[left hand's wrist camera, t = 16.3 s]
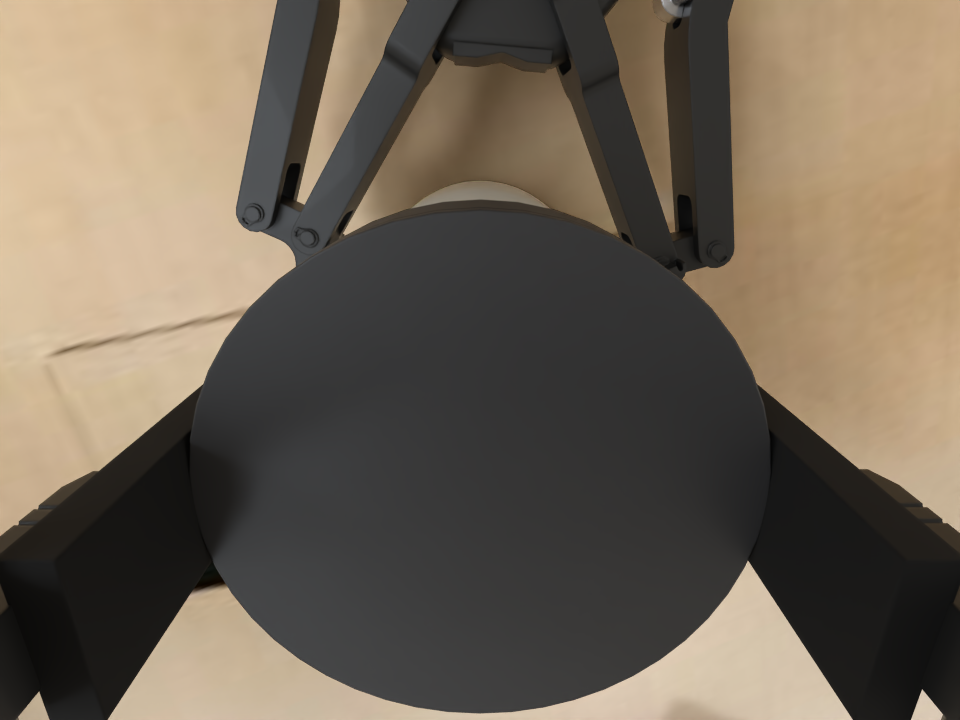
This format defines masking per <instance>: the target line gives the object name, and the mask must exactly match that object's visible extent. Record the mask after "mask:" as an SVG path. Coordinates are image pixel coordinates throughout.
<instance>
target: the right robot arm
mask: <svg viewBox="0 0 960 720" xmlns="http://www.w3.org/2000/svg"><path fill="white" fill-rule="evenodd" d="M406 1H407V5H406V7H405V9H404V11H403V12H402V14H401V16H400V18H399V20H398V22H397V24H396V26H395V28H394V30H393V31H392V33H391V35H390V37H389V39H388V41H387V44H386V47H385V51H384V55H383V58H382V60H381V62H380V64H379V66H378V68H377V70H376V71H375V73H374V75H373V77H372V79H371V81H370V83H369V85H368V87H367V88H366V90H365V92H364V94H363V96H362V98H361V100H360V102H359V104H358V105H357V107H356V109H355V111H354V113H353V115H352V117H351V119H350V120H349V122H348V124H347V126H346V128H345V130H344V132H343V134H342V136H341V137H340V139H339V141H338V143H337V145H336V147H335V149H334V151H333V153H332V154H331V156H330V158H329V160H328V162H327V164H326V166H325V168H324V170H323V171H322V173H321V175H320V177H319V179H318V181H317V183H316V185H315V187H314V188H313V190H312V192H311V194H310V196H309V198H308V200H307V202H306V204H305V205H304V204H301V203H299V202H297V197H298V193H299V189H300V184H301V180H302V176H303V171H304V167H305V163H306V159H307V154H308V150H309V146H310V141H311V137H312V133H313V129H314V124H315V120H316V116H317V111H318V107H319V103H320V99H321V94H322V90H323V86H324V82H325V77H326V73H327V69H328V64H329V60H330V56H331V52H332V47H333V43H334V39H335V34H336V30H337V24H338V18H339V8H340V0H277V5H276V10H275V15H274V20H273V25H272V30H271V35H270V40H269V45H268V50H267V55H266V60H265V65H264V70H263V75H262V80H261V85H260V90H259V95H258V101H257V106H256V111H255V116H254V121H253V126H252V131H251V136H250V141H249V146H248V151H247V156H246V161H245V166H244V171H243V176H242V181H241V186H240V191H239V196H238V201H237V206H236V215H237V218H238V221H239V222H240V223H241V225H242V226H243V227H244V228H246V229H248V230H249V231H254V232H259V231H261V232H263V233H266V234H268V235H270V236H273V237H275V238H277V239H279V240H281V241H283V242H285V243H286V244H287V245H288V246H289V247H290V248H291V250H292V251H293V253H294V256H295V260H296V266H298V265H299V264H301V263H302V262H303V261H305V260H306V259H308V258H309V257H310V256H312V255H314V254H315V253H317V252H319V251H320V250H322V249H323V248H325V247H327V246H328V245H330V244H332V243H333V242H335V241H337V240H338V239H340V238H342V237H344V236H345V235H344V234H343V232H344V231H345V229H346V227H347V225H348V223H349V222H350V220H351V218H352V216H353V215H354V213H355V211H356V209H357V207H358V206H359V204H360V202H361V200H362V199H363V197H364V195H365V193H366V191H367V190H368V188H369V186H370V184H371V182H372V181H373V179H374V177H375V175H376V174H377V172H378V170H379V168H380V166H381V165H382V163H383V161H384V159H385V158H386V156H387V154H388V152H389V150H390V149H391V147H392V145H393V143H394V142H395V140H396V138H397V136H398V134H399V133H400V131H401V129H402V127H403V126H404V124H405V122H406V120H407V118H408V117H409V115H410V113H411V111H412V109H413V108H414V106H415V104H416V102H417V101H418V99H419V97H420V95H421V93H422V92H423V90H424V89H425V87H426V86H427V85H428V84H429V82H430V81H431V79H432V78H433V76H434V74H435V72H436V71H437V69H438V67H439V65H440V64H441V62H442V60H443V58H444V57H446V58H447V59H449V60H452V61H454V63H455V65H460V66H472V67H479V66H484V65H489V64H494V63H499V62H501V63H504V64H507V65H509V66H512V67H514V68H517V69H519V70H522V71H529V72H540V73H545V72H546V71H547V70H548V69H552V68H555V67H556V69H557V72H558V74H559V77H560V80H561V83H562V85H563V88H564V91H565V93H566V95H567V97H568V98H569V100H570V101H571V104H572V106H573V109H574V112H575V114H576V117H577V120H578V123H579V126H580V128H581V131H582V134H583V137H584V139H585V142H586V145H587V148H588V151H589V153H590V156H591V159H592V162H593V164H594V167H595V170H596V173H597V176H598V178H599V181H600V184H601V187H602V189H603V192H604V195H605V198H606V201H607V203H608V206H609V209H610V212H611V214H612V217H613V220H614V223H615V226H616V228H617V231H618V234H619V237H620V239H622V240H623V241H625V242H627V243H628V244H630V245H632V246H633V247H635V248H637V249H638V250H640V251H642V252H643V253H645V254H647V255H648V256H650V257H651V258H653V259H654V260H655V261H657V262H658V263H659V264H661V265H662V266H664V267H665V268H666V269H668V270H669V271H671V272H672V273H673V274H675V275H676V276H677V277H679V278H680V279H683V277H684V276H685V272H688V271H692V270H696V269H699V268H703V267H707V266H708V267H710V268H718V267H721V266H723V265H725V264H726V263H727V262H728V261H730V259H731V257H732V255H733V252H734V220H733V187H732V153H731V119H730V86H729V52H728V19H729V15H730V12H731V8H732V4H733V1H734V0H653V9H654V13H655V14H656V16H657V17H658V18H659V19H660V20H661V21H663V22H666V23H667V25H666V31H665V42H664V63H665V79H666V94H667V110H668V125H669V140H670V156H671V171H672V187H673V202H674V218H675V232H673V233H670V232H669V229H668V226H667V223H666V220H665V217H664V214H663V210H662V207H661V204H660V201H659V198H658V195H657V192H656V189H655V186H654V183H653V180H652V177H651V174H650V171H649V168H648V165H647V162H646V159H645V156H644V153H643V150H642V147H641V144H640V141H639V138H638V134H637V131H636V128H635V125H634V122H633V119H632V116H631V113H630V110H629V107H628V104H627V101H626V98H625V95H624V92H623V89H622V86H621V83H620V79H619V66H618V61H617V57H616V54H615V51H614V48H613V45H612V41H611V38H610V35H609V32H608V29H607V26H606V23H605V20H604V17H605V16H606V15H607V14H608V13H609V11H610V10H611V9H612V8H613V6H614V5H615V4H616V3H617V1H618V0H406Z"/></svg>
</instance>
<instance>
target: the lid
mask: <svg viewBox="0 0 960 720" xmlns="http://www.w3.org/2000/svg"><path fill="white" fill-rule="evenodd" d="M189 476H190V483H191V488H192V494H193V499H194V505H195V509H196V514H197V518H198V523H199V527H200V531H201V535H202V538H203V540H204V542H205V545H206V547H207V549H208V551H209V554H210V556H211V558H212V560H213V563H214V565H215V567H216V568H217V570H218V572H219V573H220V575H221V577H222V578H223V580H224V581H225V583H226V585H227V586H228V588H229V590H230V591H231V593H232V594H233V595H234V597H235V598H236V599H237V600H238V602H239V603H240V604H241V605H242V607H243V608H244V609H245V610H246V612H247V613H248V614H249V615H250V616H251V618H252V619H253V620H254V621H255V622H256V623H257V624H259V625H260V626H261V627H262V628H263V629H264V630H265V631H266V632H267V633H268V634H269V635H270V636H271V637H272V638H273V639H274V640H275V641H276V642H278V643H279V644H280V645H282V646H283V647H284V648H286V649H287V650H288V651H290V652H291V653H292V654H293V655H295V656H296V657H297V658H299V659H300V660H302V661H303V662H305V663H307V664H308V665H310V666H312V667H313V668H315V669H317V670H318V671H320V672H321V673H323V674H325V675H326V676H329V677H331V678H333V679H335V680H337V681H339V682H341V683H343V684H346V685H348V686H350V687H352V688H354V689H356V690H359V691H362V692H365V693H368V694H371V695H373V696H376V697H379V698H382V699H385V700H389V701H393V702H397V703H401V704H405V705H409V706H413V707H418V708H425V709H432V710H439V711H445V712H461V713H499V712H515V711H522V710H529V709H536V708H543V707H547V706H551V705H555V704H559V703H564V702H568V701H572V700H575V699H578V698H581V697H584V696H587V695H590V694H593V693H595V692H598V691H601V690H604V689H606V688H608V687H611V686H613V685H615V684H617V683H619V682H621V681H623V680H626V679H628V678H630V677H632V676H634V675H636V674H637V673H639V672H640V671H642V670H644V669H645V668H647V667H649V666H650V665H652V664H654V663H655V662H657V661H659V660H660V659H662V658H663V657H664V656H666V655H667V654H668V653H670V652H671V651H672V650H673V649H675V648H676V647H677V646H679V645H680V644H681V643H683V642H684V641H685V640H686V639H687V638H688V637H689V636H690V635H691V634H693V633H694V632H695V631H696V630H697V629H698V628H699V627H700V626H701V625H702V624H703V623H704V622H705V621H706V620H707V619H708V618H709V617H710V616H711V614H712V613H713V612H714V611H715V609H716V608H717V607H718V606H719V604H720V603H721V602H722V601H723V600H724V598H725V597H726V596H727V595H728V593H729V592H730V590H731V588H732V587H733V585H734V584H735V582H736V580H737V579H738V577H739V575H740V574H741V572H742V571H743V569H744V567H745V565H746V563H747V561H748V559H749V556H750V554H751V552H752V550H753V547H754V545H755V543H756V541H757V539H758V536H759V532H760V529H761V525H762V520H763V516H764V512H765V507H766V502H767V496H768V491H769V486H770V478H771V449H770V435H769V430H768V424H767V419H766V413H765V408H764V404H763V401H762V398H761V395H760V392H759V389H758V386H757V384H756V381H755V378H754V375H753V372H752V370H751V368H750V366H749V365H748V363H747V361H746V359H745V357H744V355H743V353H742V351H741V350H740V348H739V346H738V344H737V342H736V340H735V339H734V337H733V336H732V335H731V333H730V332H729V331H728V329H727V328H726V327H725V325H724V324H723V323H722V321H721V320H720V319H719V317H718V316H717V315H716V313H715V312H714V311H713V310H712V308H711V307H710V306H709V305H708V304H707V303H706V302H705V301H704V300H703V299H701V298H700V297H699V296H698V295H697V294H696V293H695V292H694V291H693V290H692V289H691V288H690V287H689V286H688V285H687V284H686V283H685V282H684V281H683V280H682V279H680V278H679V277H677V276H676V275H675V274H673V273H672V272H671V271H669V270H668V269H666V268H665V267H664V266H662V265H661V264H659V263H658V262H657V261H655V260H654V259H653V258H651V257H650V256H648V255H647V254H645V253H643V252H642V251H640V250H638V249H637V248H635V247H633V246H632V245H630V244H628V243H627V242H625V241H623V240H622V239H620V238H618V237H616V236H614V235H613V234H611V233H609V232H607V231H605V230H603V229H601V228H599V227H597V226H595V225H593V224H592V223H590V222H588V221H585V220H582V219H579V218H576V217H574V216H571V215H568V214H565V213H562V212H560V211H557V210H554V209H549V208H544V207H540V206H535V205H530V204H525V203H520V202H512V201H497V200H483V199H478V200H463V201H448V202H440V203H435V204H430V205H425V206H420V207H416V208H411V209H406V210H404V211H401V212H398V213H395V214H392V215H389V216H387V217H384V218H381V219H378V220H375V221H373V222H371V223H369V224H367V225H365V226H363V227H361V228H359V229H357V230H355V231H353V232H351V233H349V234H348V235H346V236H344V237H342V238H340V239H338V240H337V241H335V242H333V243H332V244H330V245H328V246H327V247H325V248H323V249H322V250H320V251H319V252H317V253H315V254H314V255H312V256H310V257H309V258H308V259H306V260H305V261H303V262H302V263H301V264H299V265H298V266H296V267H295V268H294V269H292V270H291V271H289V272H288V273H287V274H285V275H284V276H282V277H281V278H280V279H278V280H277V281H276V282H275V283H274V284H273V285H272V286H271V287H270V288H269V289H268V290H267V291H266V292H265V293H264V294H263V295H262V296H261V297H260V298H259V299H258V300H256V301H255V302H254V303H253V304H252V305H251V306H250V307H249V308H248V310H247V311H246V312H245V314H244V315H243V316H242V318H241V319H240V320H239V322H238V323H237V324H236V326H235V327H234V328H233V329H232V331H231V332H230V333H229V335H228V336H227V337H226V339H225V341H224V342H223V344H222V346H221V348H220V350H219V352H218V354H217V355H216V357H215V359H214V361H213V363H212V365H211V367H210V368H209V370H208V373H207V376H206V378H205V381H204V384H203V387H202V390H201V393H200V395H199V398H198V401H197V404H196V409H195V414H194V420H193V425H192V431H191V436H190V457H189Z"/></svg>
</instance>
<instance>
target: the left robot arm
mask: <svg viewBox="0 0 960 720" xmlns="http://www.w3.org/2000/svg"><path fill="white" fill-rule="evenodd" d="M757 386H758V389H759V392H760V395H761V398H762V401H763V404H764V408H765V413H766V419H767V424H768V430H769V435H770V449H771V478H770V486H769V491H768V496H767V502H766V507H765V512H764V516H763V520H762V525H761V529H760V532H759V536H758V539H757V541H756V543H755V545H754V547H753V550H752V552H751V554H750V556H749V559H748V561H749V563H750V564H751V566H752V567H753V569H754V570H755V572H756V573H757V575H758V576H759V578H760V579H761V581H762V582H763V584H764V585H765V587H766V588H767V590H768V591H769V593H770V594H771V596H772V597H773V599H774V600H775V602H776V604H777V605H778V607H779V608H780V610H781V611H782V613H783V614H784V616H785V617H786V619H787V620H788V622H789V623H790V625H791V626H792V628H793V629H794V631H795V632H796V634H797V635H798V637H799V638H800V640H801V642H802V643H803V645H804V646H805V648H806V649H807V651H808V652H809V654H810V655H811V657H812V658H813V660H814V661H815V663H816V664H817V666H818V667H819V669H820V670H821V672H822V673H823V675H824V676H825V678H826V679H827V681H828V683H829V684H830V686H831V687H832V689H833V690H834V692H835V693H836V695H837V696H838V698H839V699H840V701H841V702H842V704H843V705H844V707H845V708H846V710H847V711H848V713H849V714H850V716H851V717H852V719H853V720H911V718H912V715H913V712H914V710H915V707H916V704H917V701H918V699H919V696H920V693H921V691H922V689H923V691H924V692H925V693H926V694H927V695H928V697H929V698H930V699H931V700H932V701H933V703H934V704H935V705H936V706H937V707H938V709H939V710H940V711H941V712H942V714H943V716H942V719H941V720H960V533H959V532H958V531H956V530H955V529H954V528H953V527H951V526H950V525H949V524H948V523H943V522H942V519H941V518H940V517H939V516H938V515H936V514H935V513H934V512H932V511H931V510H930V509H929V508H927V507H923V505H922V503H921V502H920V501H919V500H917V499H916V498H915V497H913V496H912V495H911V494H910V493H908V492H907V491H906V490H905V489H903V488H902V487H901V486H900V485H898V484H896V483H894V482H892V481H890V480H888V479H886V478H884V477H882V476H880V475H878V474H876V473H874V472H872V471H870V470H868V469H858V468H857V467H856V466H855V465H853V464H852V463H851V462H850V461H849V460H847V459H846V458H845V457H844V456H843V455H841V454H840V453H839V452H838V451H837V450H835V449H834V448H833V447H832V446H831V445H829V444H828V443H827V442H826V441H825V440H823V439H822V438H821V437H820V436H819V435H817V434H816V433H815V432H814V431H813V430H811V429H810V428H809V427H808V426H807V425H805V424H804V423H803V422H802V421H801V420H799V419H798V418H797V417H796V416H795V415H793V414H792V413H791V412H790V411H789V410H787V409H786V408H785V407H784V406H783V405H781V404H780V403H779V402H778V401H777V400H775V399H774V398H773V397H772V396H771V395H769V394H768V393H767V392H766V391H765V390H763V389H762V388H761V387H760V386H759V385H757ZM202 387H203V385H202V386H201V387H199V388H198V389H197V390H196V391H195V392H193V393H192V394H191V395H190V396H189V397H187V398H186V399H185V400H184V401H183V402H181V403H180V404H179V405H178V406H177V407H175V408H174V409H173V410H172V411H171V412H169V413H168V414H167V415H166V416H165V417H163V418H162V419H161V420H160V421H159V422H157V423H156V424H155V425H154V426H153V427H151V428H150V429H149V430H148V431H147V432H145V433H144V434H143V435H142V436H141V437H139V438H138V439H137V440H136V441H135V442H133V443H132V444H131V445H130V446H129V447H127V448H126V449H125V450H124V451H123V452H121V453H120V454H119V455H118V456H117V457H115V458H114V459H113V460H112V461H111V462H109V463H108V464H107V465H106V466H105V467H103V468H102V469H101V470H100V471H93V472H91V473H89V474H87V475H85V476H83V477H81V478H79V479H77V480H75V481H73V482H71V483H69V484H67V485H65V486H63V487H61V488H60V489H59V490H58V491H56V492H55V493H54V494H53V495H51V496H50V497H49V498H48V499H46V500H45V501H44V502H43V503H41V504H40V505H39V508H38V509H34V510H33V511H31V512H30V513H29V514H28V515H26V516H25V517H24V518H23V519H21V520H20V521H19V525H14V526H13V527H11V528H10V529H9V530H8V531H6V532H5V533H4V534H3V535H1V536H0V720H19V719H18V716H19V715H20V714H21V713H22V711H23V710H24V709H25V708H26V706H27V705H28V704H29V703H30V702H31V700H32V699H33V698H34V697H35V695H36V694H37V693H38V692H40V695H41V697H42V700H43V703H44V706H45V708H46V711H47V714H48V717H49V719H50V720H108V718H109V717H110V715H111V713H112V712H113V710H114V709H115V707H116V706H117V704H118V703H119V701H120V700H121V698H122V697H123V695H124V694H125V692H126V691H127V689H128V688H129V686H130V685H131V683H132V682H133V680H134V679H135V677H136V675H137V674H138V672H139V671H140V669H141V668H142V666H143V665H144V663H145V662H146V660H147V659H148V657H149V656H150V654H151V653H152V651H153V650H154V648H155V647H156V645H157V644H158V642H159V641H160V639H161V638H162V636H163V634H164V633H165V631H166V630H167V628H168V627H169V625H170V624H171V622H172V621H173V619H174V618H175V616H176V615H177V613H178V612H179V610H180V609H181V607H182V606H183V604H184V603H185V601H186V600H187V598H188V596H189V595H190V593H191V592H192V590H193V589H194V587H195V586H196V584H197V583H198V581H199V580H200V578H201V577H202V575H203V574H204V572H205V571H206V569H207V568H208V566H209V565H210V563H211V562H212V558H211V556H210V554H209V551H208V549H207V547H206V545H205V542H204V540H203V538H202V535H201V531H200V527H199V523H198V518H197V514H196V509H195V505H194V499H193V494H192V488H191V483H190V476H189V457H190V436H191V431H192V425H193V420H194V414H195V409H196V404H197V401H198V398H199V395H200V393H201V390H202Z"/></svg>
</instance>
